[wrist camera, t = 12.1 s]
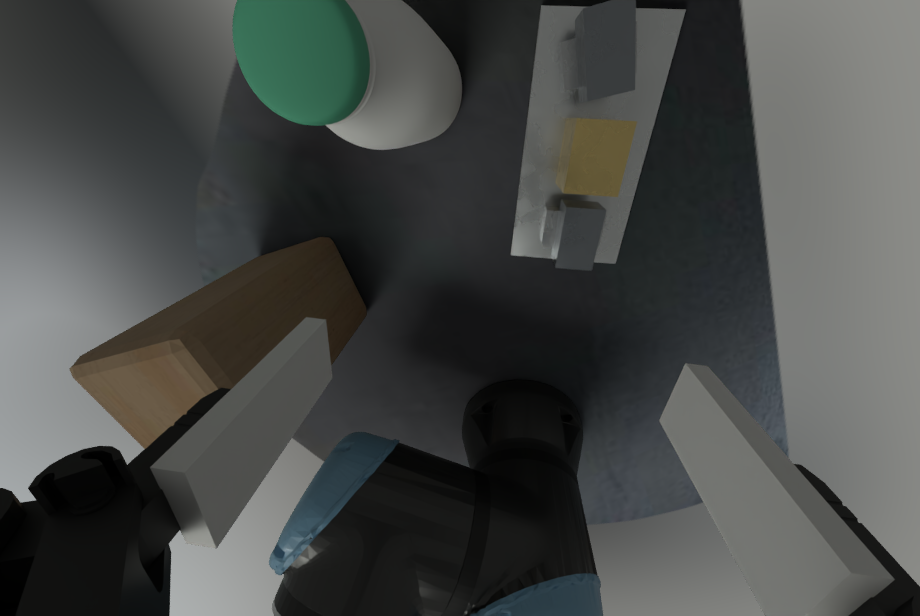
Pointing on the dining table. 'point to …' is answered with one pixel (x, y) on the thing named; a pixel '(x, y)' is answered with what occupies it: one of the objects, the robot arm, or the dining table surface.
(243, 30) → the milk bottle
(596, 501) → the dining table surface
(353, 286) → the wooden block
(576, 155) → the gold cube-like block
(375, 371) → the dining table surface
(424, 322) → the dining table surface
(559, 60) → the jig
